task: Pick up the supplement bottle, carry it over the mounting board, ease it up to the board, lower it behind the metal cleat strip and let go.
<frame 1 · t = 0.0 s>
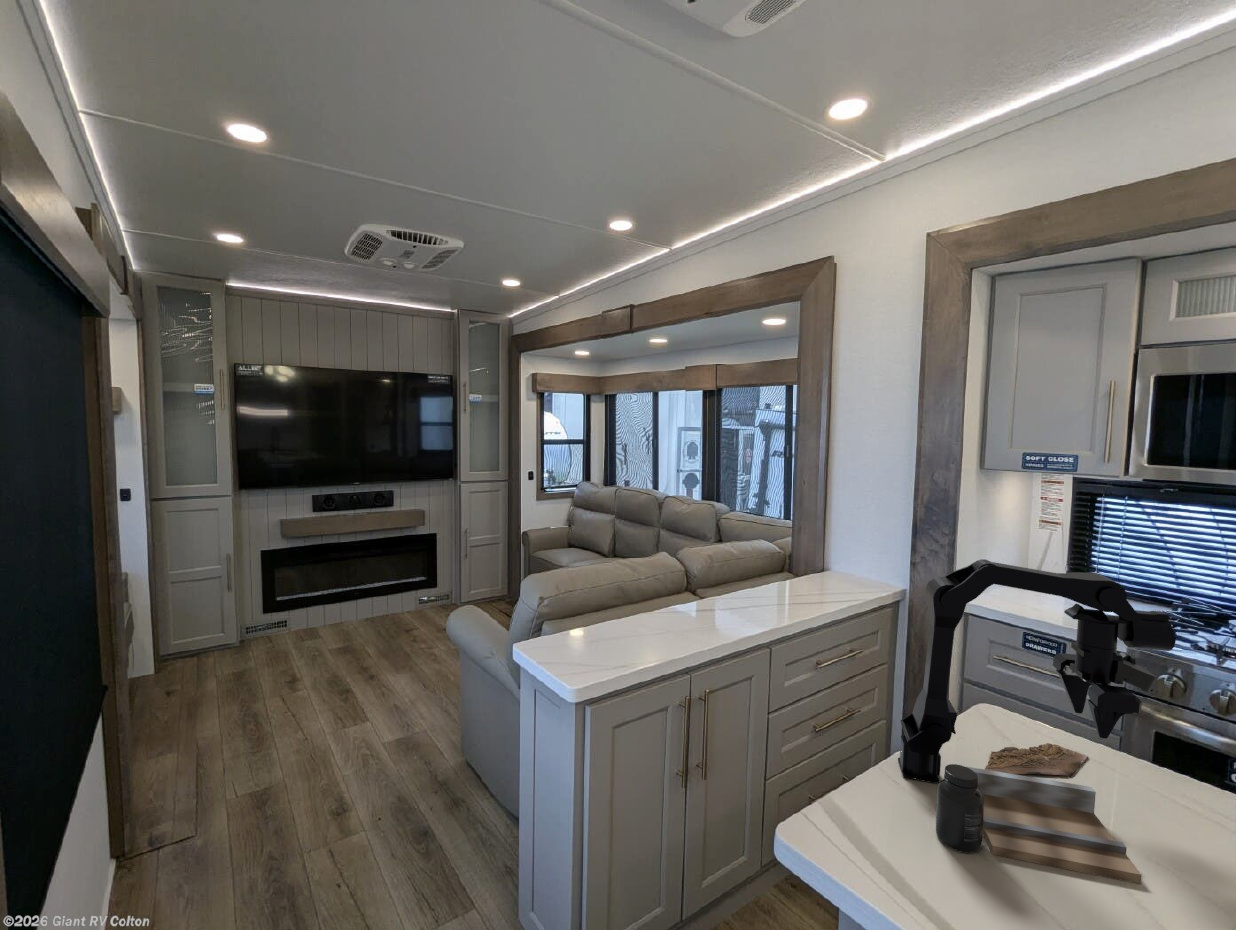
hand: (1090, 724, 106), 15 cm above the countertop, tool pointing down, fingers open, 9 cm apart
cleat board: (1042, 834, 98), on the countertop
supplement bottle: (957, 840, 97), on the countertop
wooden fragment: (1033, 765, 119), on the countertop
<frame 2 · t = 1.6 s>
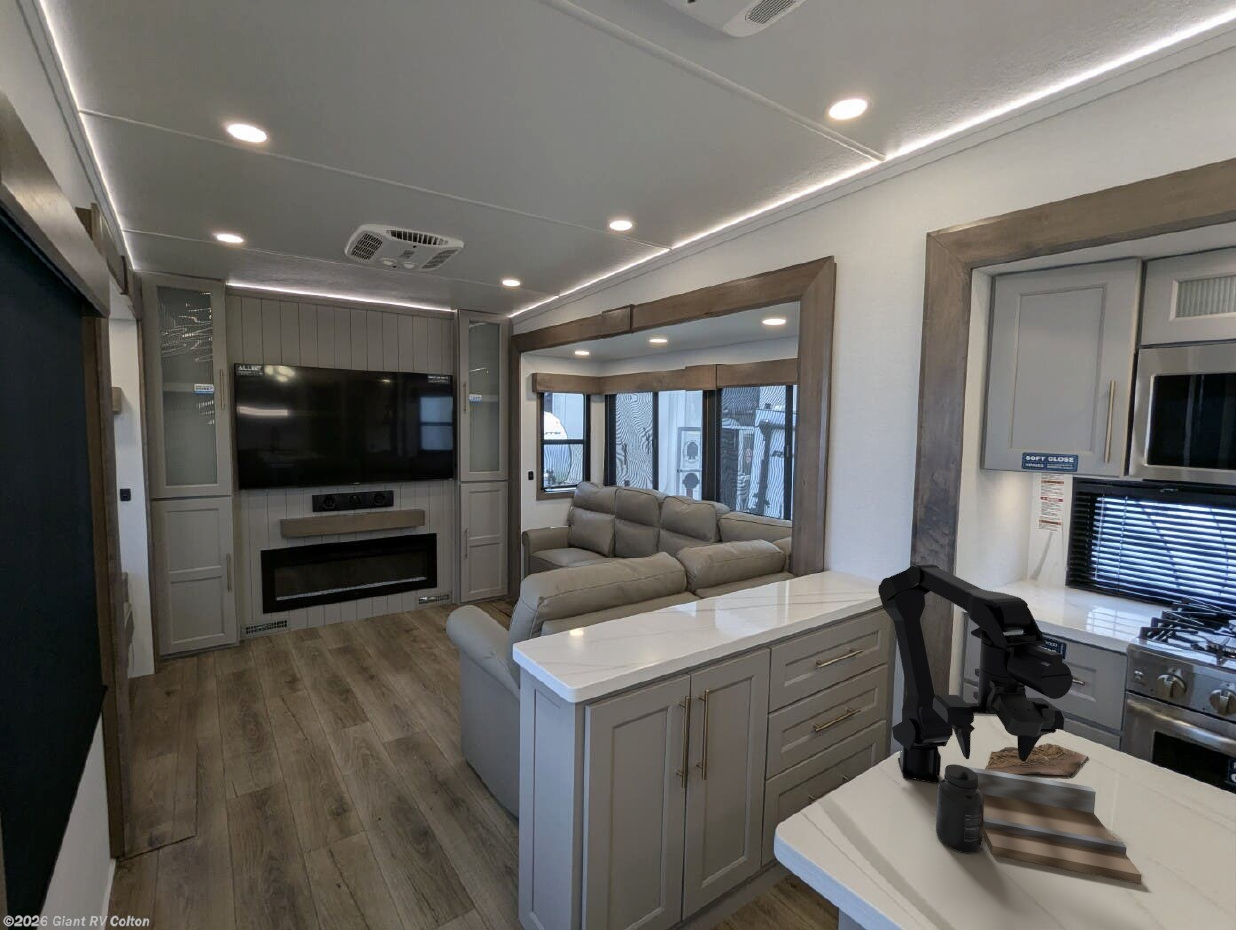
hand: (994, 759, 98), 13 cm above the countertop, tool pointing down, fingers open, 9 cm apart
nothing on the countertop moved.
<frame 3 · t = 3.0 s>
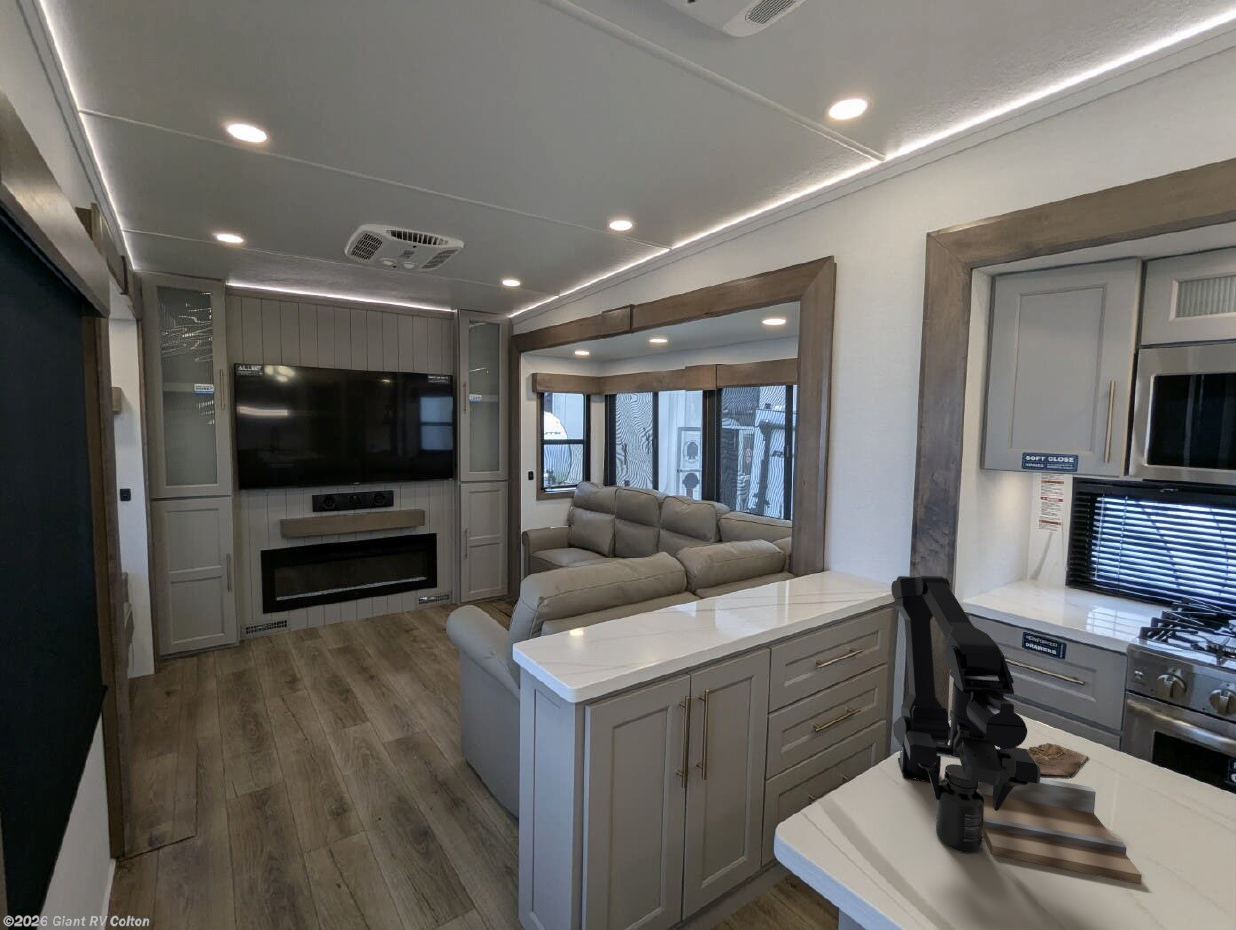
hand: (965, 803, 96), 7 cm above the countertop, tool pointing down, fingers open, 8 cm apart
supplement bottle: (957, 840, 97), on the countertop, touching gripper
everything else where it was.
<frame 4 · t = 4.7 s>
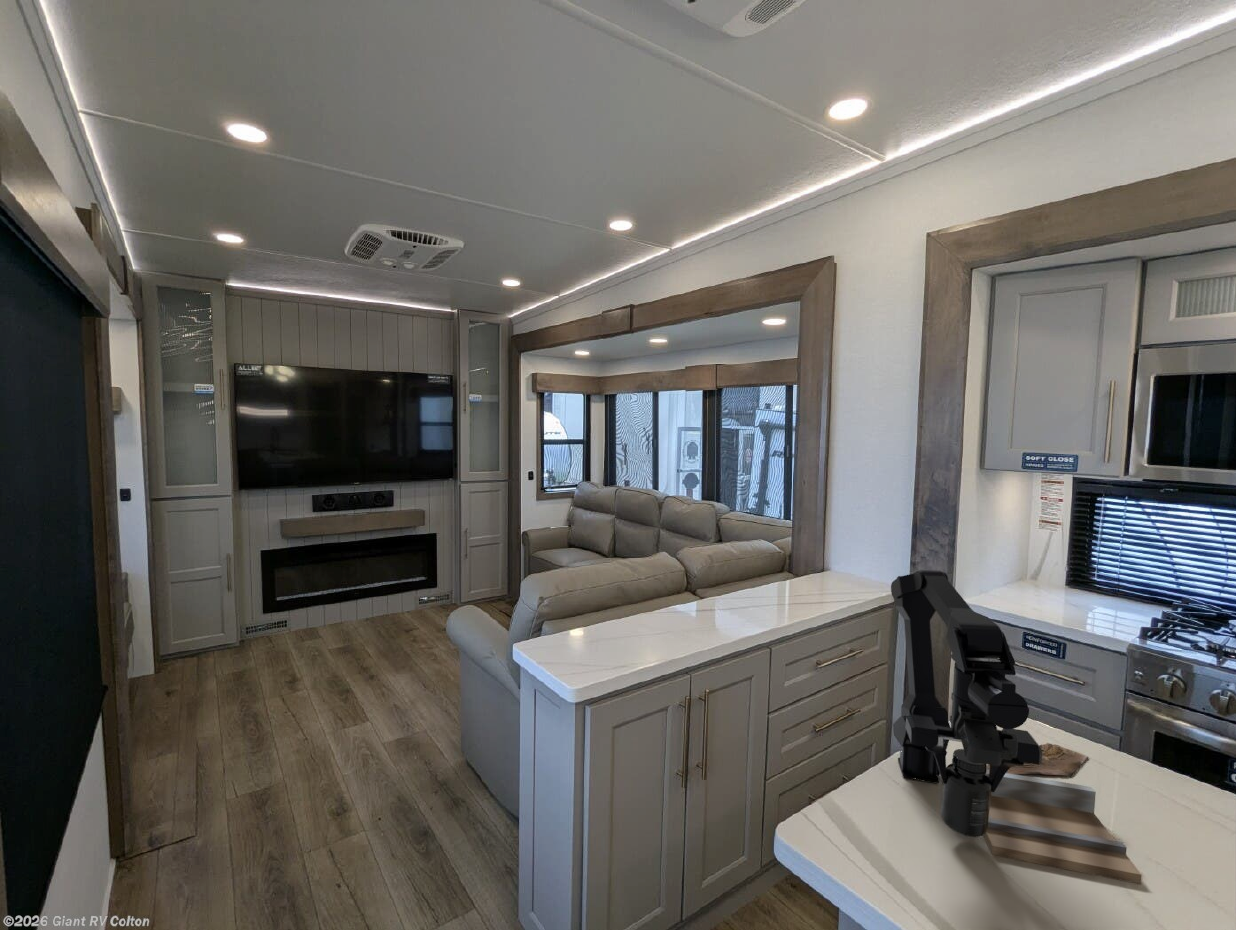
hand: (967, 786, 96), 10 cm above the countertop, tool pointing down, fingers closed on supplement bottle, 7 cm apart
supplement bottle: (962, 824, 97), point 3 cm above the countertop, touching gripper
everything else where it was.
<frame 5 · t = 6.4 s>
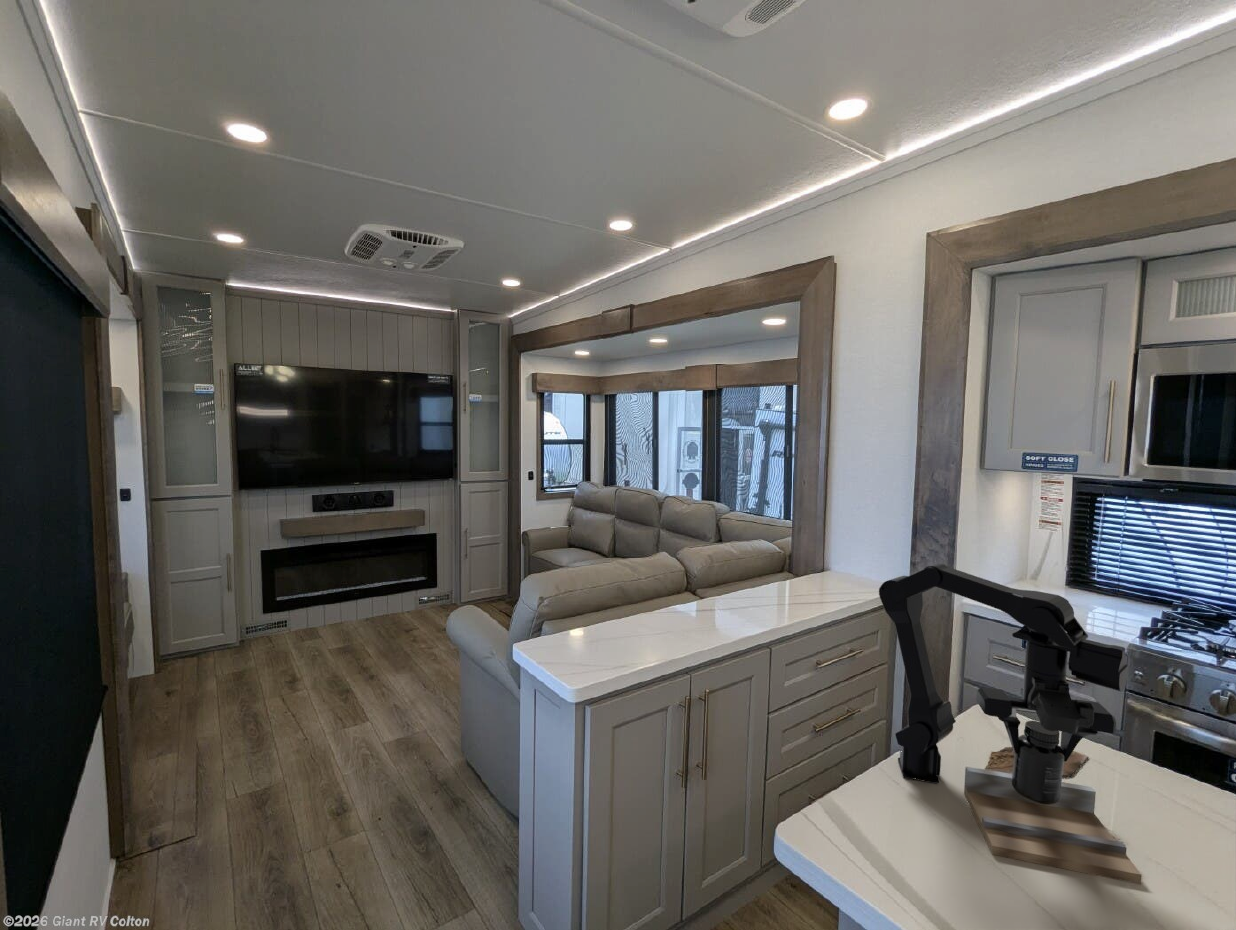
hand: (1039, 756, 99), 13 cm above the countertop, tool pointing down, fingers closed on supplement bottle, 7 cm apart
supplement bottle: (1033, 793, 100), point 6 cm above the countertop, touching gripper
everything else where it was.
when the fingers open (9 cm above the countertop, at t = 8.6 s): supplement bottle stays where it is, resting on cleat board.
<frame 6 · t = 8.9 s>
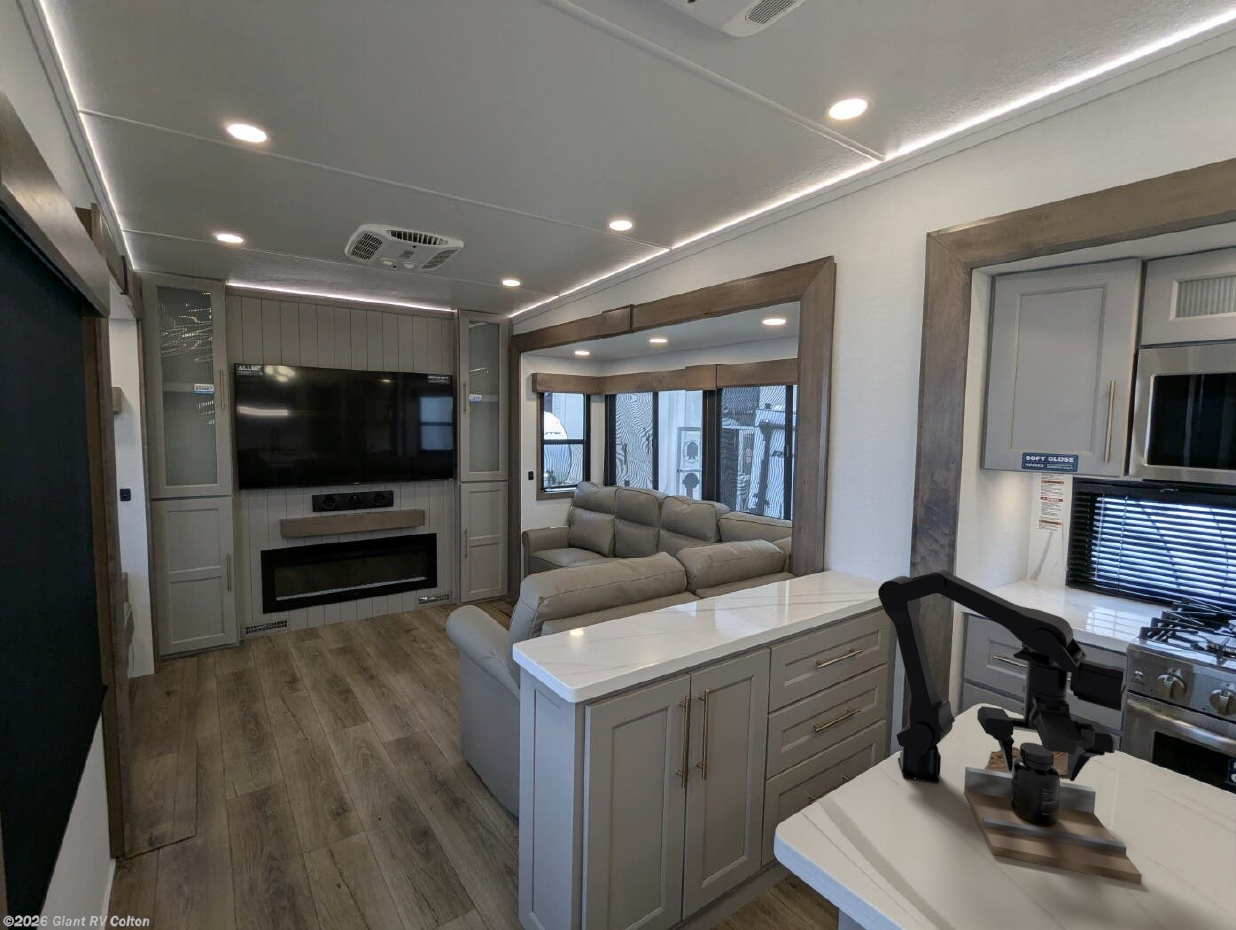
hand: (1039, 774, 100), 9 cm above the countertop, tool pointing down, fingers open, 9 cm apart
supplement bottle: (1033, 815, 101), point 1 cm above the countertop, touching cleat board
everything else where it was.
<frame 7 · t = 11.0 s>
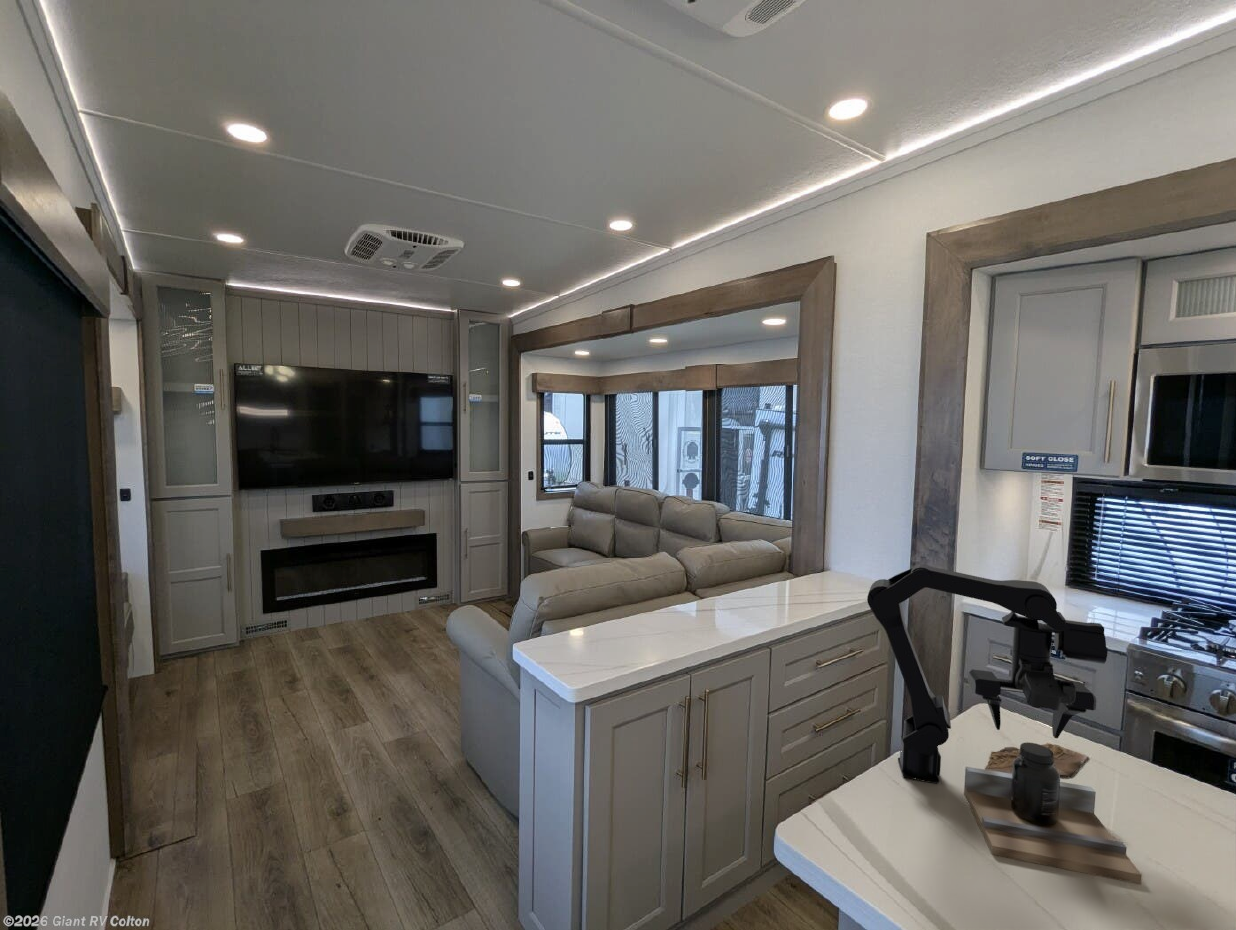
hand: (1026, 732, 107), 13 cm above the countertop, tool pointing down, fingers open, 9 cm apart
nothing on the countertop moved.
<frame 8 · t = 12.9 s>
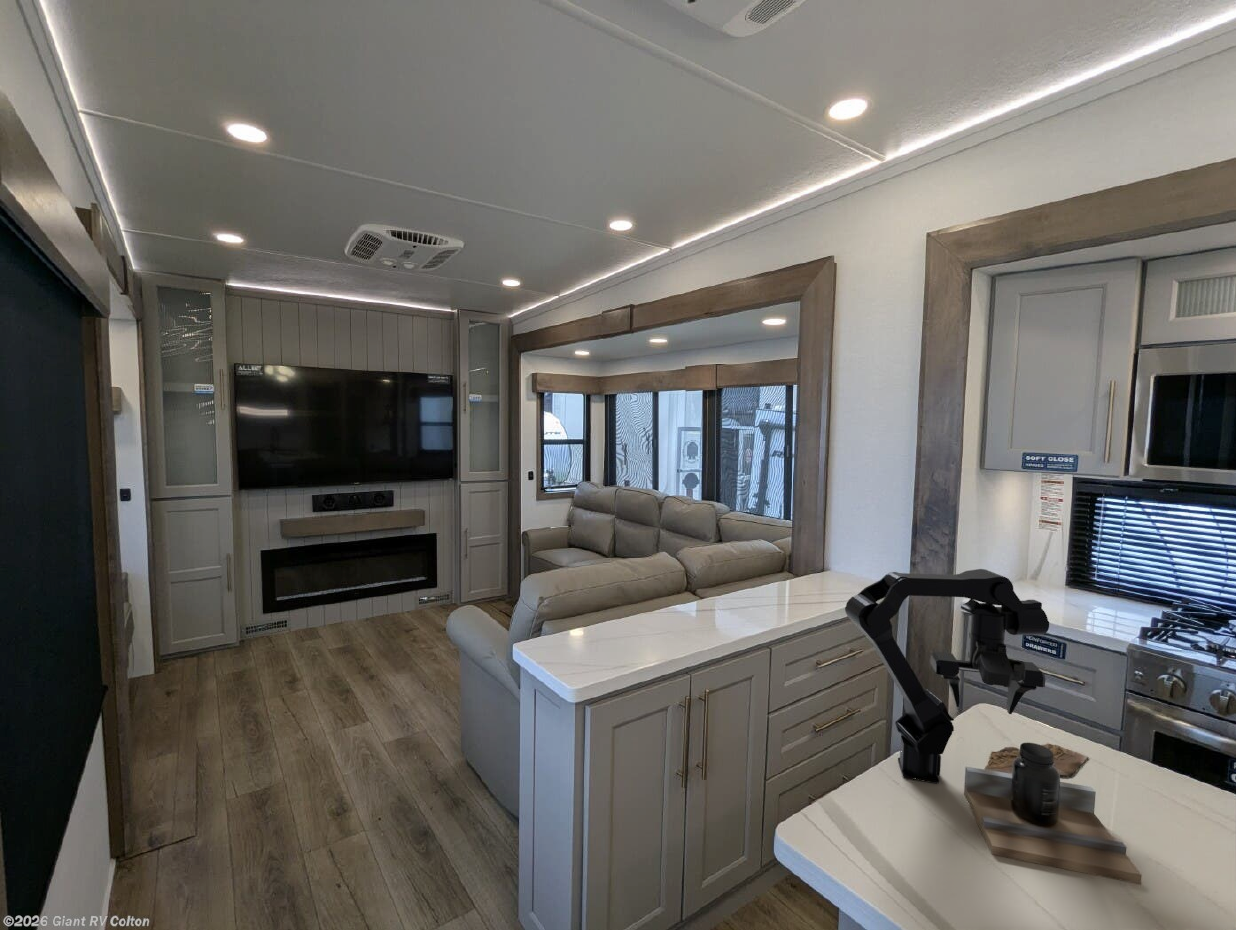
hand: (982, 709, 115), 13 cm above the countertop, tool pointing down, fingers open, 9 cm apart
nothing on the countertop moved.
at the end: supplement bottle 0.5 cm from the target spot, point 1.3 cm above the countertop; supplement bottle tilted 0°; the gripper is holding nothing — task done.
